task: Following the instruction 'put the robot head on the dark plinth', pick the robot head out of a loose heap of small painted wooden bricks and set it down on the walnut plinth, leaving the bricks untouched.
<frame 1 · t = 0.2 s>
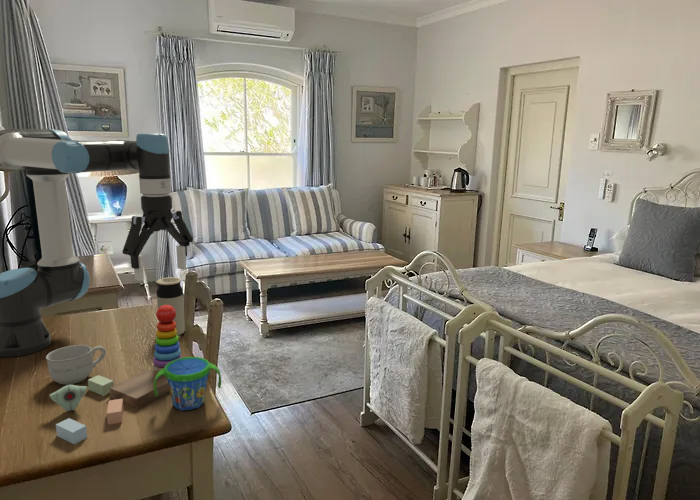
hand: (161, 274, 136), 28 cm above the table, fingers open, 13 cm apart
travel mug: (172, 333, 168), on the table
brick terracotta: (116, 417, 119), on the table
plinth: (144, 392, 130), on the table
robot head: (71, 411, 121), on the table
brick sage: (101, 390, 131), on the table
snack cup: (189, 404, 125), on the table
stacking toy: (168, 370, 143), on the table
teacup: (79, 378, 137), on the table
brick blue: (72, 437, 111), on the table
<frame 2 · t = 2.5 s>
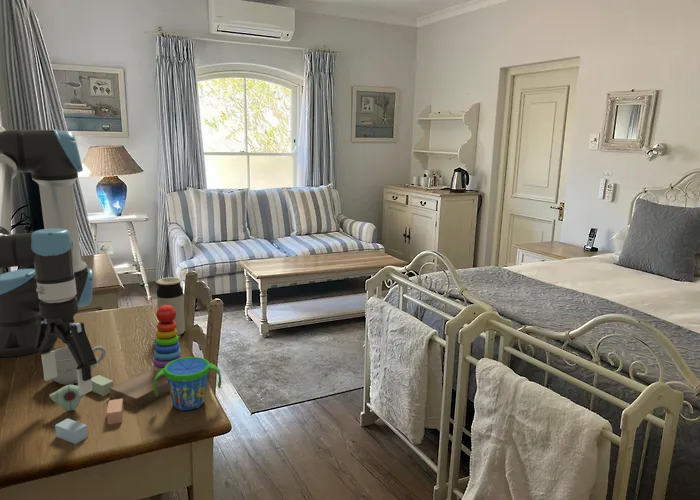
hand: (67, 385, 119), 7 cm above the table, fingers open, 13 cm apart
nothing on the table moved.
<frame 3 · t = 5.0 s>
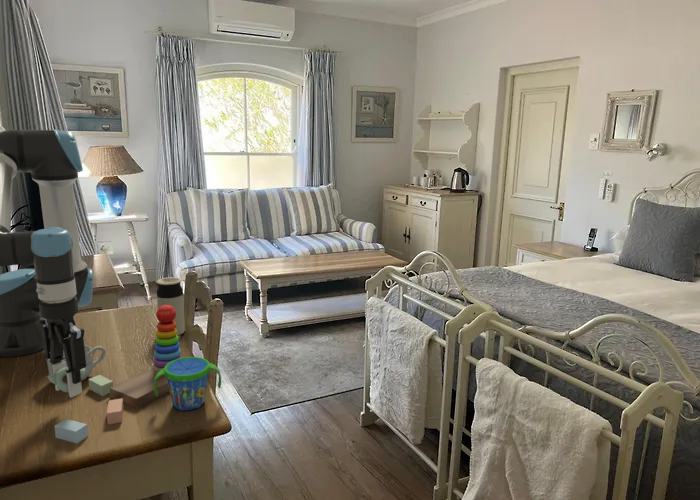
hand: (68, 391, 120), 5 cm above the table, fingers closed on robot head, 5 cm apart
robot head: (69, 393, 120), point 4 cm above the table, touching gripper
everything else where it was.
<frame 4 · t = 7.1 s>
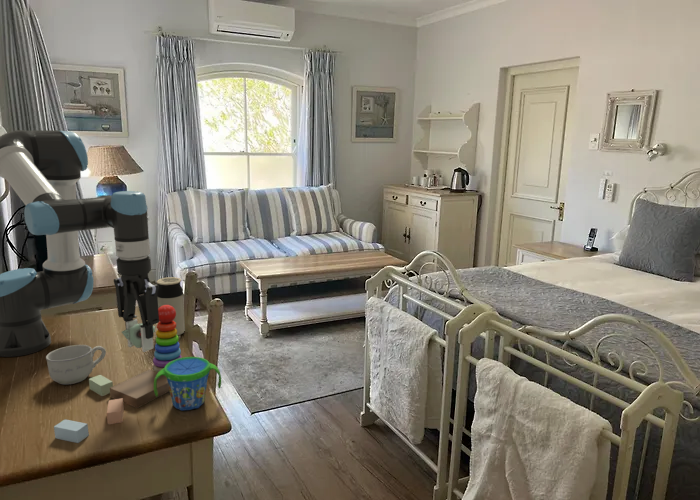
hand: (140, 347, 127), 12 cm above the table, fingers closed on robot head, 5 cm apart
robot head: (140, 349, 127), point 12 cm above the table, touching gripper
everything else where it was.
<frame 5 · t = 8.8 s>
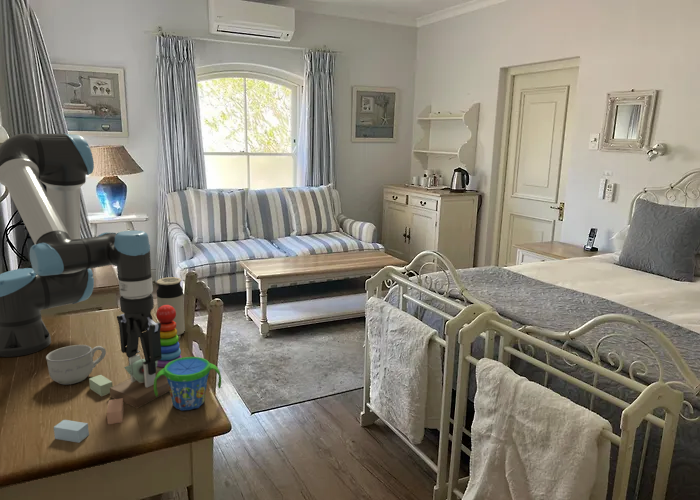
hand: (143, 382, 129), 3 cm above the table, fingers closed on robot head, 5 cm apart
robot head: (143, 383, 129), point 2 cm above the table, touching gripper, plinth
everything else where it was.
when the fingers open (3 cm above the table, at t = 9.4 s): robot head stays where it is, resting on plinth.
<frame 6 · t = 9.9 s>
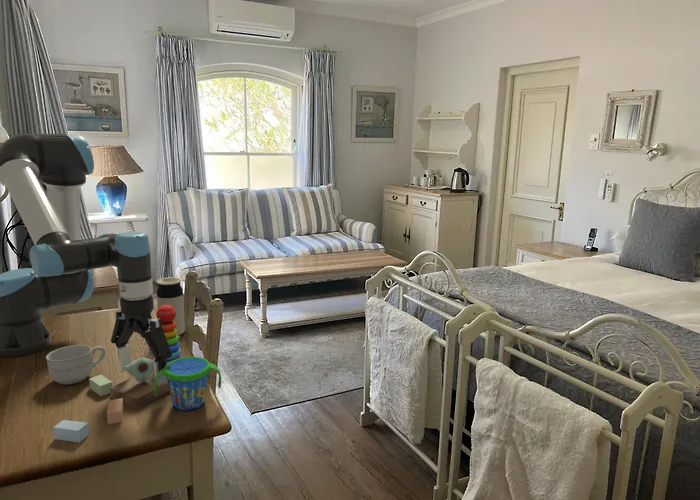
hand: (142, 376, 129), 4 cm above the table, fingers open, 12 cm apart
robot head: (143, 383, 129), point 2 cm above the table, touching plinth
snack cup: (189, 404, 125), on the table, touching gripper
everything else where it was.
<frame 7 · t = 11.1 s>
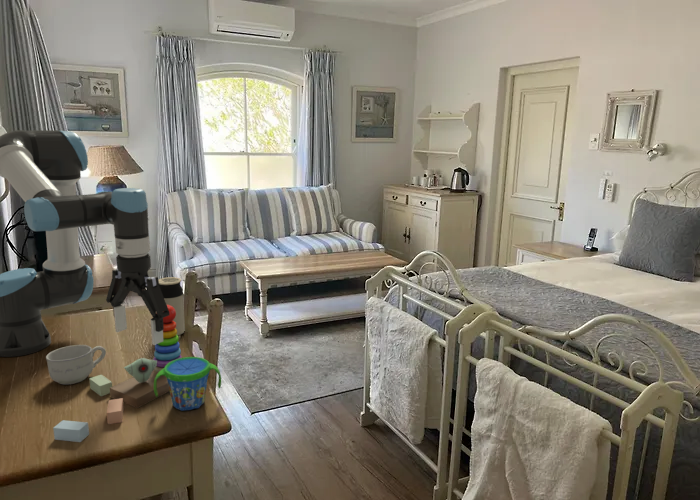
hand: (139, 336, 127), 15 cm above the table, fingers open, 13 cm apart
snack cup: (189, 404, 125), on the table
everything else where it was.
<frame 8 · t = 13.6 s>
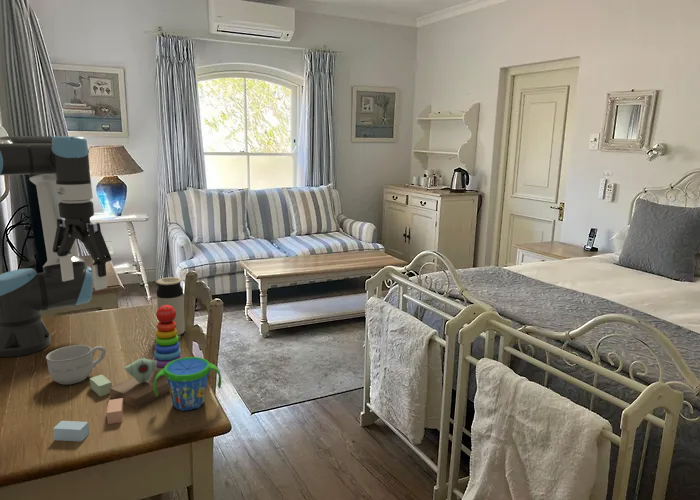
hand: (84, 284, 129), 27 cm above the table, fingers open, 13 cm apart
nothing on the table moved.
at the end: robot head inside the target area on the plinth (0.1 cm from its centre), point 2.3 cm above the plinth's base; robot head touching plinth; brick sage moved 0.2 cm from its start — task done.
